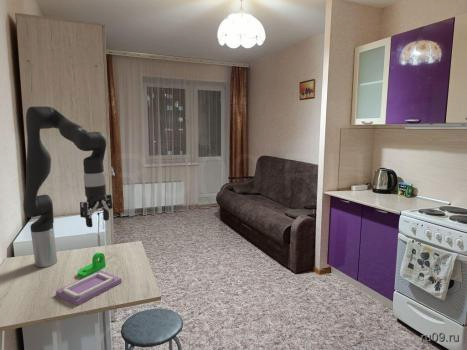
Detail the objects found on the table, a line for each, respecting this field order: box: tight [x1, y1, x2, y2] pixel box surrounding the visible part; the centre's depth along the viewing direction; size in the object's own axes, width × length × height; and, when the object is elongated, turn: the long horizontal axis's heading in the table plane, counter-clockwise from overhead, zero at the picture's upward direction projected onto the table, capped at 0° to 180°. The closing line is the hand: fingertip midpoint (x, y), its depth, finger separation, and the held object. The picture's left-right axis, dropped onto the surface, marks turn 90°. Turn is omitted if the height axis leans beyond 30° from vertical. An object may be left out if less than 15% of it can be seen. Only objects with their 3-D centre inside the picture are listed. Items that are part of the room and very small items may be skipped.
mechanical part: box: [77, 252, 106, 279], centre depth 146 cm, size 12×6×8 cm, turn 157°
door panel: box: [55, 269, 123, 306], centre depth 132 cm, size 14×20×3 cm
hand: (98, 223), depth 129 cm, fingers open, 8 cm apart
